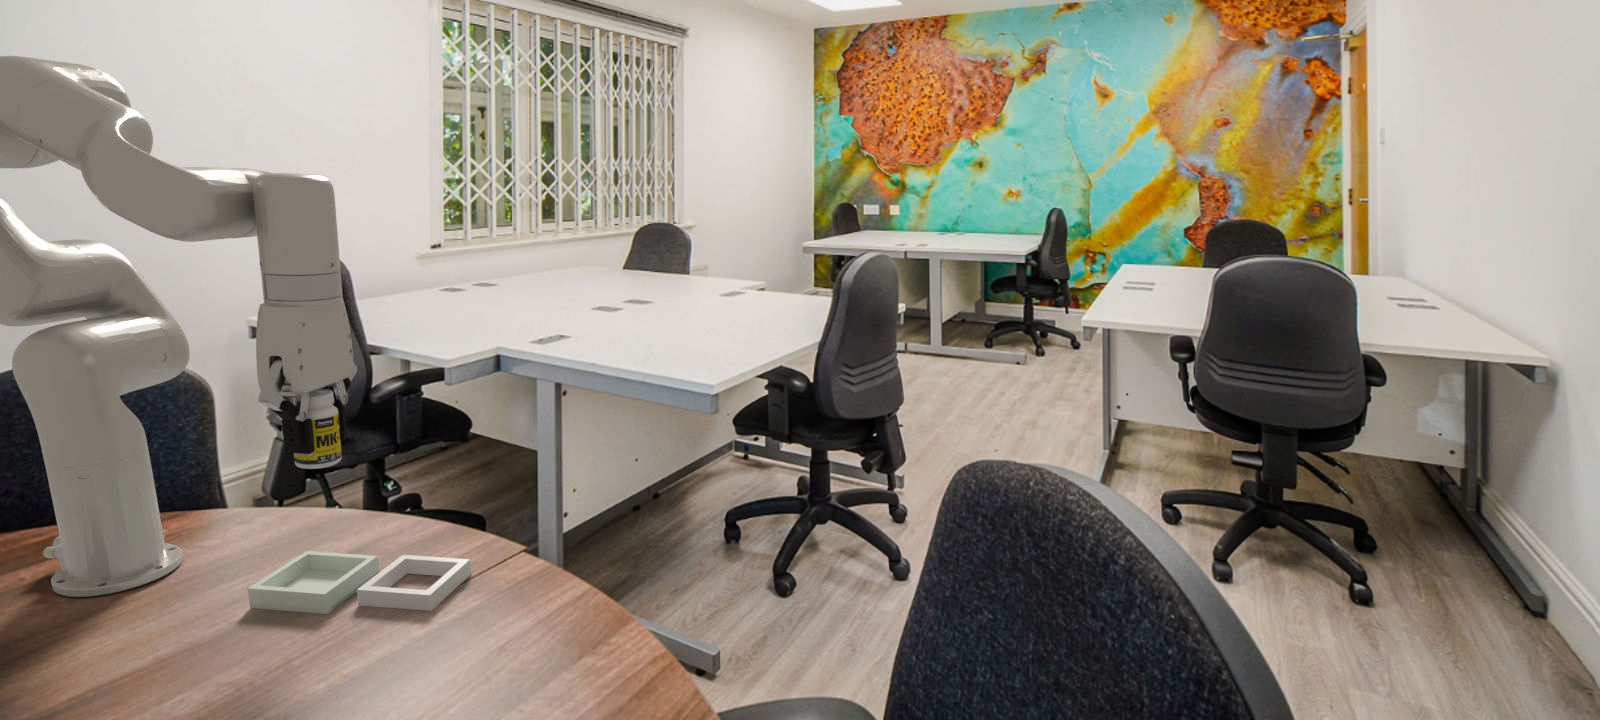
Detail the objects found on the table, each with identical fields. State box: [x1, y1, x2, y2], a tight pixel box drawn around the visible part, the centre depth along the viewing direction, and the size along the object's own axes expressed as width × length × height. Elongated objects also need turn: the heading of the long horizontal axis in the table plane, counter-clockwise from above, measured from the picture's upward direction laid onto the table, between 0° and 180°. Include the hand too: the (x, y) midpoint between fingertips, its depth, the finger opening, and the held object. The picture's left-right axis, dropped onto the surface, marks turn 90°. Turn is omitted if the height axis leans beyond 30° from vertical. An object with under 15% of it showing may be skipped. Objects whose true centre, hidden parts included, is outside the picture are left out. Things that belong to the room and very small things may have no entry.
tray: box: [247, 550, 381, 615], centre depth 98 cm, size 10×10×2 cm
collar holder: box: [356, 554, 472, 612], centre depth 99 cm, size 9×9×2 cm
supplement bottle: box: [292, 389, 343, 470], centre depth 94 cm, size 5×5×8 cm
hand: (316, 442), depth 94 cm, fingers closed on supplement bottle, 4 cm apart
